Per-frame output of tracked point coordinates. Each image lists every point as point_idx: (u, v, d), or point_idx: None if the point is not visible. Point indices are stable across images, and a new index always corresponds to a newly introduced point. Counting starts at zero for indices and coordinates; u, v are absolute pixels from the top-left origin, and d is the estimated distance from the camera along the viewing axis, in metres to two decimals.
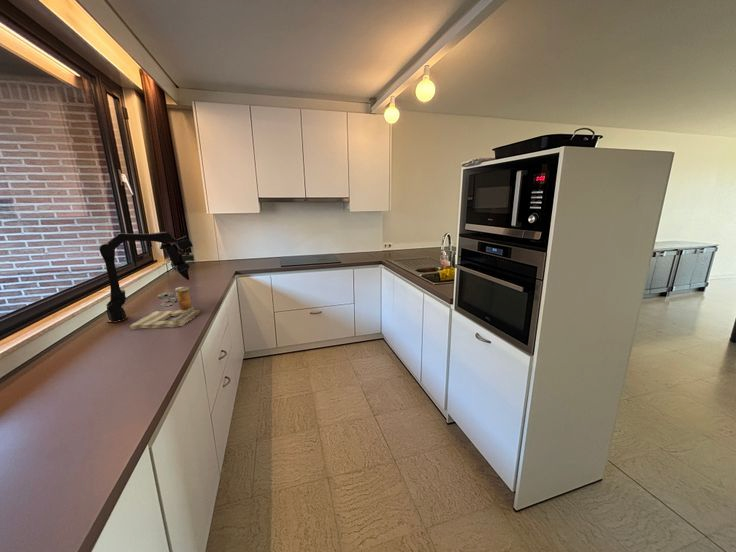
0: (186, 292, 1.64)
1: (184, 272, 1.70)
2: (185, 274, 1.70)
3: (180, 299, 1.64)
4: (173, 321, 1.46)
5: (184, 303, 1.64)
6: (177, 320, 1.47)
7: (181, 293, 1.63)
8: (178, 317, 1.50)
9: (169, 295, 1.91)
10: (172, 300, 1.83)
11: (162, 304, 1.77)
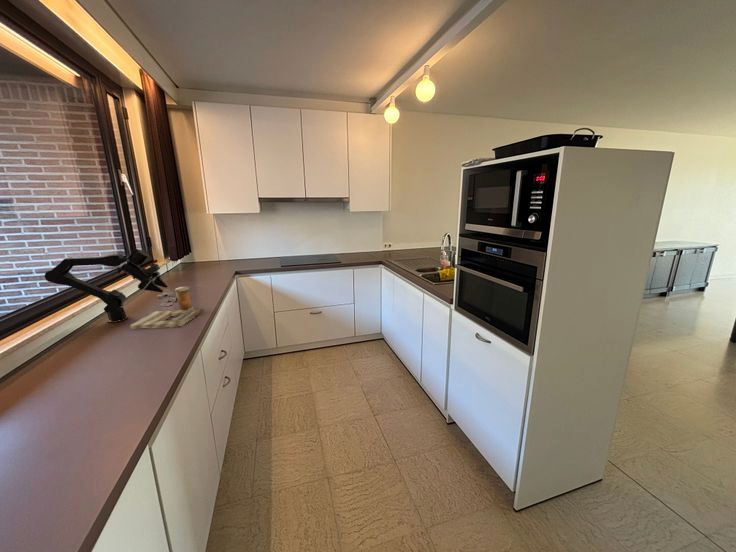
0: (186, 292, 1.64)
1: (152, 287, 1.55)
2: (154, 288, 1.55)
3: (180, 299, 1.64)
4: (173, 321, 1.46)
5: (184, 303, 1.64)
6: (177, 320, 1.47)
7: (181, 293, 1.63)
8: (178, 317, 1.50)
9: (169, 295, 1.91)
10: (172, 300, 1.83)
11: (162, 304, 1.77)
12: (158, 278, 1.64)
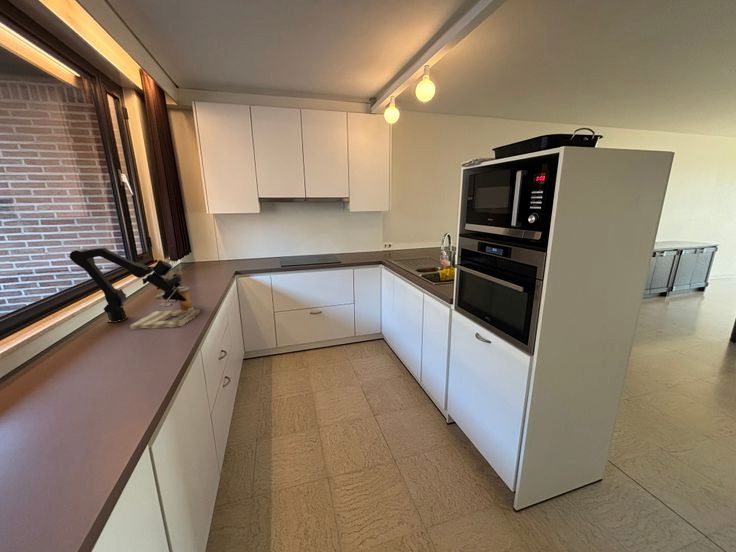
0: (186, 292, 1.64)
1: (176, 296, 1.61)
2: (178, 297, 1.62)
3: None
4: (173, 321, 1.46)
5: (184, 303, 1.64)
6: (177, 320, 1.47)
7: (181, 293, 1.63)
8: (178, 317, 1.50)
9: None
10: (171, 300, 1.83)
11: (162, 304, 1.77)
12: None
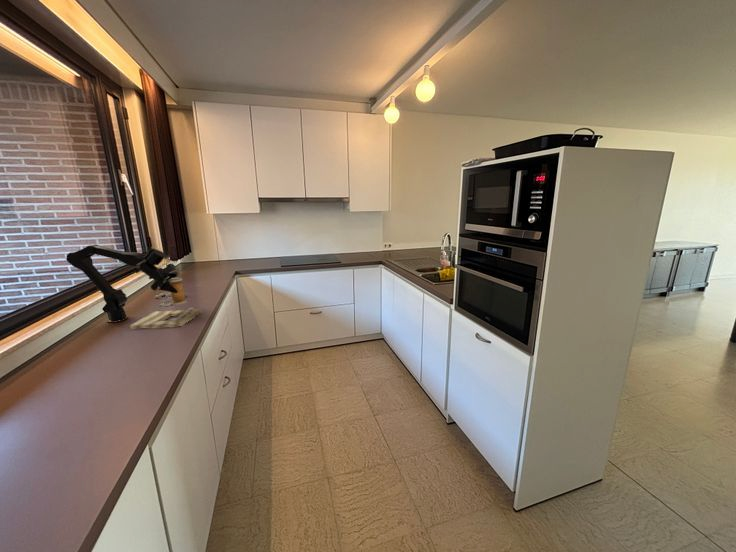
0: (178, 283, 1.56)
1: (167, 287, 1.53)
2: (169, 288, 1.54)
3: None
4: (173, 321, 1.46)
5: (175, 295, 1.56)
6: (177, 320, 1.47)
7: (172, 284, 1.55)
8: (178, 317, 1.50)
9: (167, 295, 1.91)
10: (171, 300, 1.83)
11: (161, 304, 1.77)
12: None
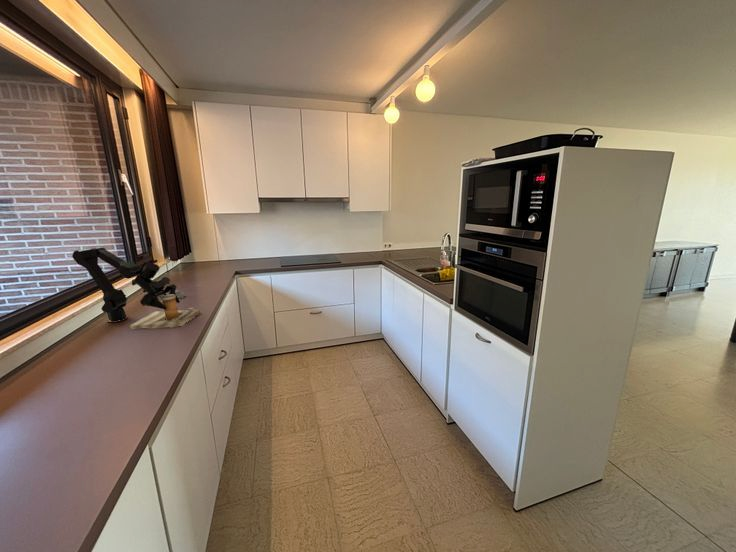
0: (170, 301, 1.50)
1: (155, 303, 1.46)
2: (157, 305, 1.47)
3: None
4: (173, 321, 1.46)
5: (167, 313, 1.51)
6: (177, 320, 1.47)
7: (164, 302, 1.49)
8: (178, 317, 1.50)
9: None
10: None
11: None
12: (171, 292, 1.56)
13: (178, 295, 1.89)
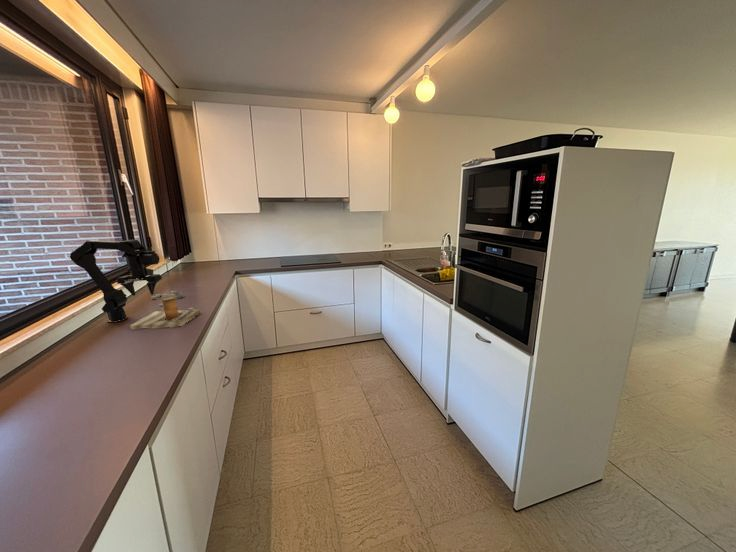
0: (170, 301, 1.50)
1: (152, 285, 1.54)
2: (152, 287, 1.54)
3: (164, 308, 1.50)
4: (173, 321, 1.46)
5: (167, 313, 1.51)
6: (177, 320, 1.47)
7: (164, 302, 1.49)
8: (178, 317, 1.50)
9: None
10: None
11: (161, 304, 1.76)
12: (132, 283, 1.55)
13: (176, 295, 1.89)
